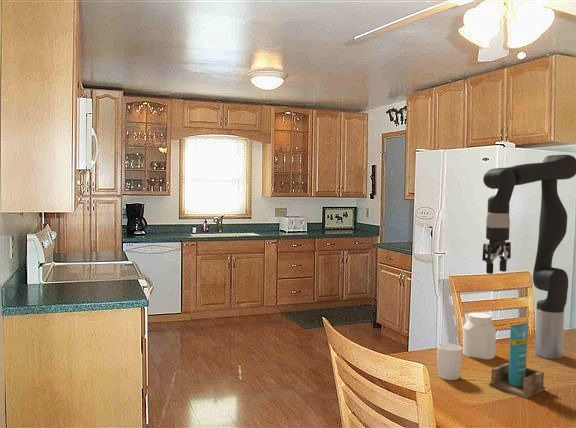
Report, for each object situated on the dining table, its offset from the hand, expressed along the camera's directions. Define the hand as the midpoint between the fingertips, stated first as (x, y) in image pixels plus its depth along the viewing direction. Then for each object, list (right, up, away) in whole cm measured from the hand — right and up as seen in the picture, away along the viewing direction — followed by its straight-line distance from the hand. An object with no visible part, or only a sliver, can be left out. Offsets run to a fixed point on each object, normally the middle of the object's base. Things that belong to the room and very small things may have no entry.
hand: (496, 272), depth 179 cm
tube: (-1, -33, -18) cm, 38 cm away
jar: (-1, -33, +14) cm, 35 cm away
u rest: (-1, -34, -19) cm, 39 cm away
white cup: (-20, -34, -10) cm, 40 cm away
